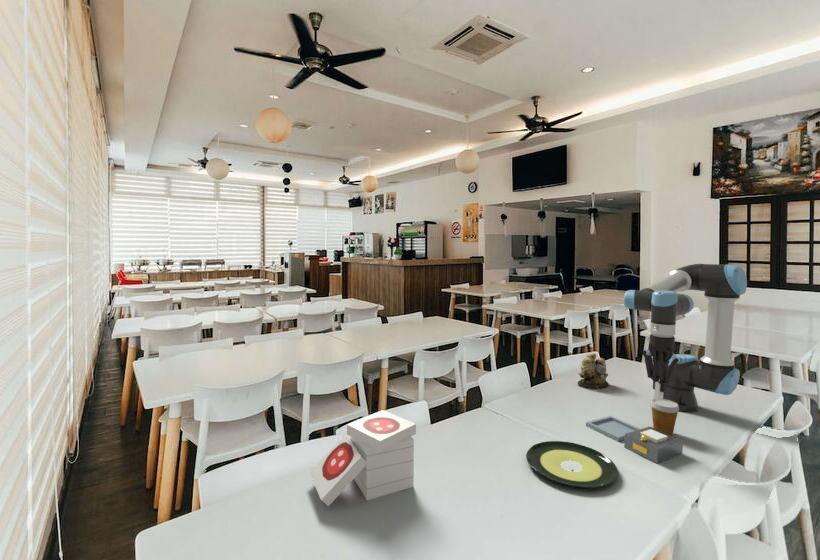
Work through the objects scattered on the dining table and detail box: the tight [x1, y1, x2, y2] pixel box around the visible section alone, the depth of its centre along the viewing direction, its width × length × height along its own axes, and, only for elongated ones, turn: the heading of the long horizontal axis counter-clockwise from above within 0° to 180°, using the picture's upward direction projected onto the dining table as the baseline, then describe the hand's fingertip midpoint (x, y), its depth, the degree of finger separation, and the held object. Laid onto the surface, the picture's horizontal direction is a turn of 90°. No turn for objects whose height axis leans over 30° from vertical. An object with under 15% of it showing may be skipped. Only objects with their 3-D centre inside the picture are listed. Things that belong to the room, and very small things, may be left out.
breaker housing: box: [623, 426, 684, 464], centre depth 143 cm, size 14×12×7 cm
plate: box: [525, 440, 619, 489], centre depth 132 cm, size 28×28×2 cm
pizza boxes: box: [308, 409, 417, 507], centre depth 121 cm, size 19×30×18 cm, turn 116°
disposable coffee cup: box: [649, 399, 679, 436], centre depth 156 cm, size 10×10×12 cm
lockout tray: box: [585, 415, 641, 442], centre depth 159 cm, size 14×14×2 cm
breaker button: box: [640, 429, 668, 443], centre depth 143 cm, size 6×6×6 cm
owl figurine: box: [577, 352, 610, 390], centre depth 209 cm, size 18×12×17 cm, turn 114°
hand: (658, 399), depth 145 cm, fingers closed
